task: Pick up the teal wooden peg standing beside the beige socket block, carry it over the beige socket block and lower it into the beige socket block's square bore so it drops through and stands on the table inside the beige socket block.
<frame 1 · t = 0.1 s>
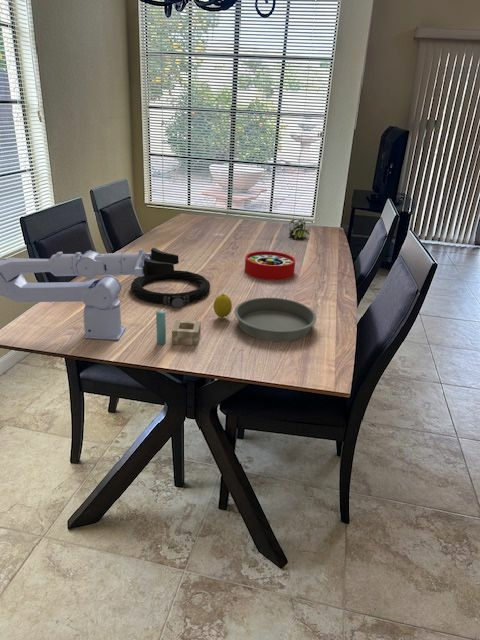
hand: (176, 263, 120), 22 cm above the table, tool horizontal, fingers open, 7 cm apart
lemon: (222, 318, 143), on the table
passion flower: (298, 237, 241), on the table
cake pan: (274, 326, 140), on the table
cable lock: (171, 292, 161), on the table
peg: (161, 342, 126), on the table
beige socket block: (186, 338, 129), on the table
toy clock: (269, 272, 187), on the table
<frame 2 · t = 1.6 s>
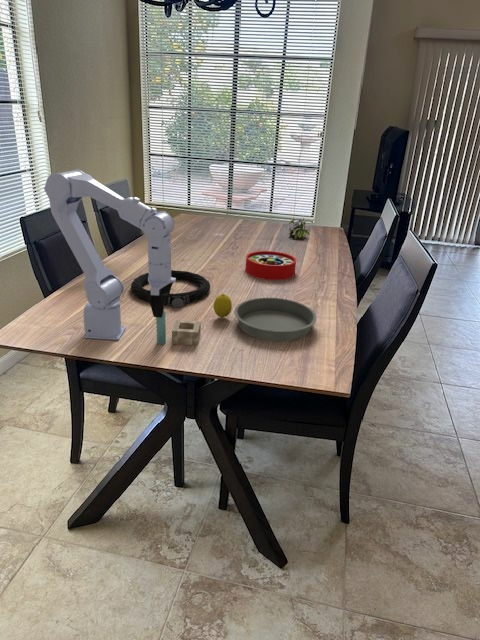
hand: (160, 310, 122), 9 cm above the table, tool pointing down, fingers open, 7 cm apart
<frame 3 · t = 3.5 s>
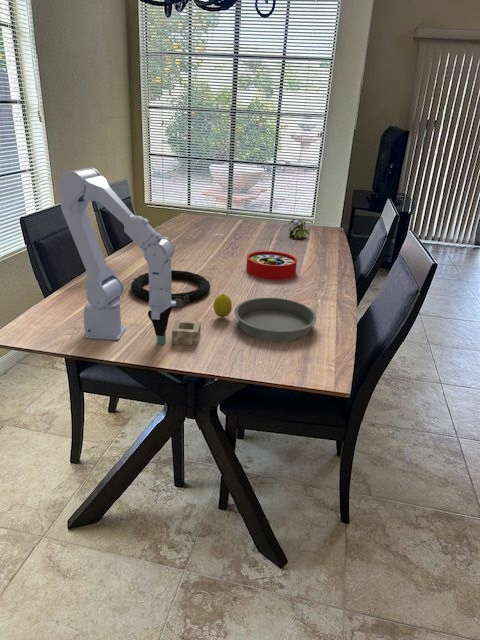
hand: (161, 332, 125), 3 cm above the table, tool pointing down, fingers closed on peg, 2 cm apart
peg: (161, 342, 126), on the table, touching gripper
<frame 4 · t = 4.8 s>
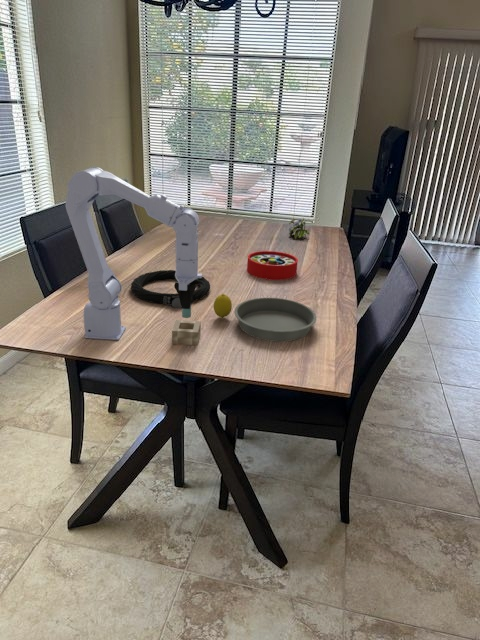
hand: (186, 306, 125), 10 cm above the table, tool pointing down, fingers closed on peg, 2 cm apart
peg: (186, 316, 126), point 7 cm above the table, touching gripper
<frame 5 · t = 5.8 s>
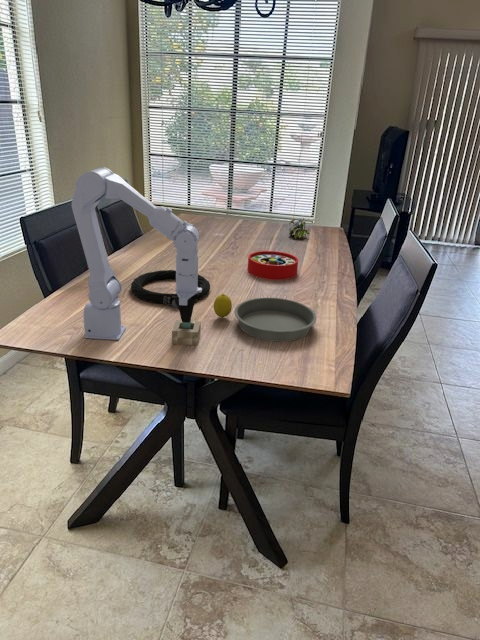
hand: (186, 319, 126), 6 cm above the table, tool pointing down, fingers closed on peg, 2 cm apart
peg: (186, 329, 128), point 3 cm above the table, touching gripper
when the fingers open (6 cm above the table, at t = 6.4 s): peg drops 3 cm, resting in beige socket block.
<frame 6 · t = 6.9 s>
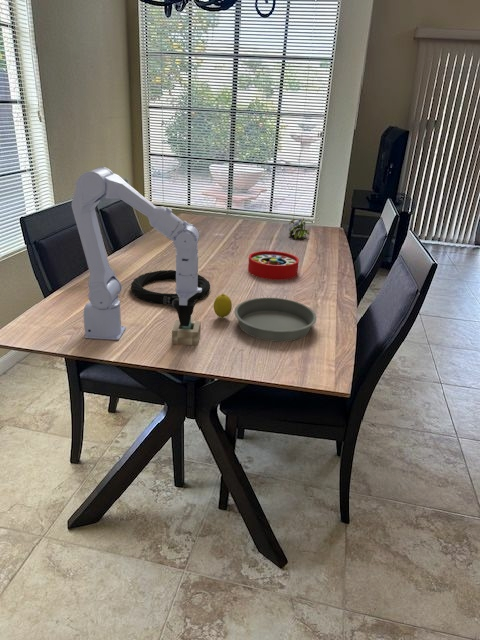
hand: (186, 319, 126), 6 cm above the table, tool pointing down, fingers open, 7 cm apart
peg: (186, 338, 129), resting in beige socket block
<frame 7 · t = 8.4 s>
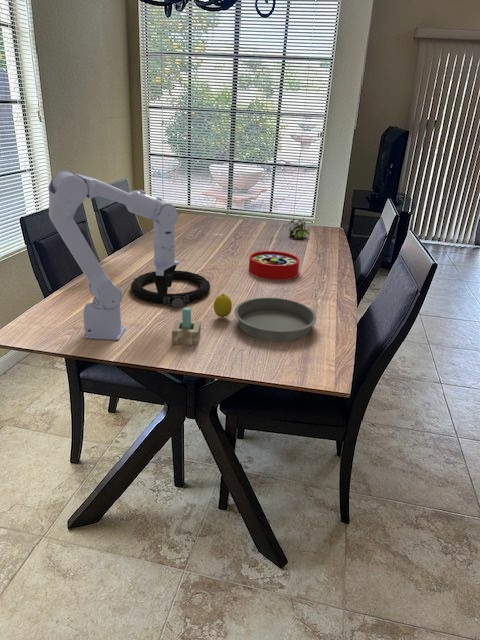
hand: (165, 291, 134), 10 cm above the table, tool pointing down, fingers open, 7 cm apart
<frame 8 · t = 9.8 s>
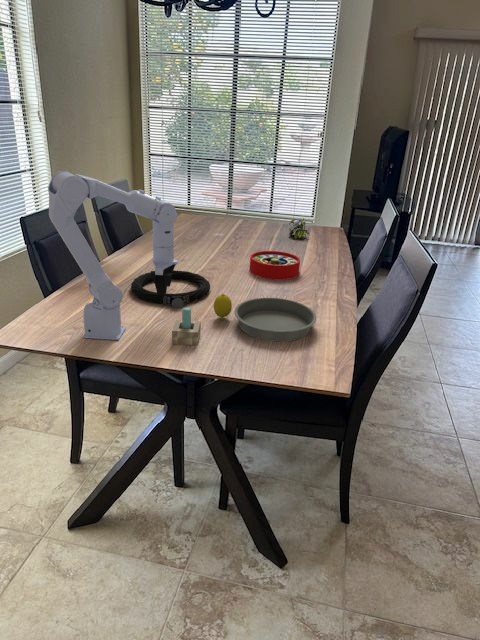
hand: (164, 290, 134), 10 cm above the table, tool pointing down, fingers open, 7 cm apart
at the end: peg 0.0 cm off-centre on the beige socket block, point 0.0 cm above the beige socket block's base; peg tilted 0°; beige socket block moved 0.0 cm from its start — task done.
